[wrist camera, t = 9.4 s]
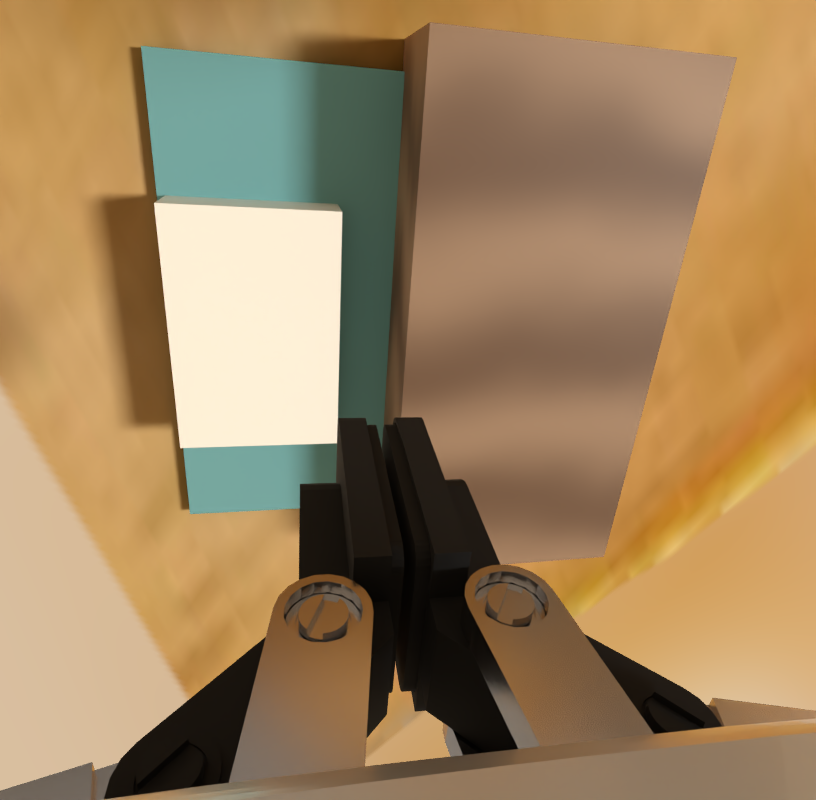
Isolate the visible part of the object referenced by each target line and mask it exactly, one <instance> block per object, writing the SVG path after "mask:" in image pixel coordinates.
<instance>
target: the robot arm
mask: <svg viewBox="0 0 816 800" xmlns="http://www.w3.org/2000/svg"><path fill="white" fill-rule="evenodd" d="M395 661H396V668H397V674H398V680H399V685H400V689H401V691H402V692H403V691H411V692H412V697H413V703H414V708H415V711H425V710H426V711H427V712H429V713H430V714H432V715H433V716H434V717H436V718H437V719H439V720H440V721H442V722H443V734H444V739H445V743H446V745H447V748H448V751H449V753H450V756H451V757H444V758H435V759H426V760H418V761H409V762H400V763H391V764H383V765H374V766H366V767H365V756H366V738H367V737H368V736H369V735H370V734H371V732H372V731H373V730H374V729H375V728H376V727H377V725H378V724H379V723H380V722H381V721H382V719H383V718H384V717H385V716H386V715H387V706H388V695H389V693H391V692H392V689H393V680H394V669H395ZM0 800H816V711H813V710H805V709H797V708H789V707H781V706H773V705H766V704H757V703H749V702H742V701H733V700H725V699H718V698H712V700H711V702H710V704H709V705H705V704H704V703H703V702H702V701H701V700H700V699H699V698H698V697H696V696H695V695H693V694H692V693H690V692H689V691H687V690H686V689H684V688H683V687H681V686H679V685H677V684H675V683H673V682H672V681H670V680H667V679H666V678H664V677H662V676H660V675H659V674H657V673H655V672H653V671H651V670H649V669H648V668H646V667H644V666H642V665H640V664H638V663H636V662H635V661H632V660H631V659H629V658H627V657H625V656H623V655H622V654H620V653H618V652H616V651H614V650H613V649H611V648H609V647H607V646H605V645H603V644H602V643H600V642H598V641H596V640H594V639H592V638H590V637H589V636H587V635H585V634H584V633H583V632H582V631H581V629H580V628H579V626H578V625H577V623H576V622H575V621H574V619H573V618H572V616H571V615H570V613H569V612H568V611H567V609H566V608H565V606H564V605H563V603H562V602H561V601H560V599H559V598H558V596H557V595H556V594H555V592H554V591H553V589H552V588H551V587H550V586H549V585H548V584H547V583H546V582H545V581H544V580H543V579H542V578H540V577H539V576H537V575H536V574H534V573H533V572H530V571H528V570H525V569H523V568H520V567H516V566H511V565H500V562H499V560H498V557H497V555H496V553H495V550H494V548H493V545H492V543H491V541H490V538H489V536H488V534H487V531H486V529H485V526H484V524H483V522H482V519H481V517H480V514H479V512H478V510H477V507H476V505H475V502H474V500H473V498H472V495H471V493H470V491H469V488H468V486H467V484H466V482H465V481H464V480H462V479H451V480H445V478H444V475H443V472H442V470H441V467H440V464H439V462H438V459H437V456H436V453H435V451H434V448H433V445H432V443H431V440H430V437H429V434H428V432H427V429H426V426H425V423H424V421H423V419H422V417H395V418H394V420H393V425H384V427H383V438H382V447H381V443H380V438H379V434H378V429H377V425H367V421H366V418H338V424H337V461H336V483H311V484H300V537H299V580H298V581H297V582H295V583H293V584H291V585H290V586H288V587H287V588H286V589H285V590H284V591H283V592H282V593H281V594H280V595H279V597H278V599H277V601H276V603H275V605H274V607H273V611H272V615H271V619H270V623H269V627H268V631H267V635H266V637H265V638H264V639H263V640H261V641H260V642H259V643H258V644H257V645H255V646H254V647H253V648H252V649H250V650H249V651H248V652H247V653H246V654H244V655H243V656H242V657H241V658H239V659H238V660H237V661H236V662H235V663H233V664H232V665H231V666H230V667H228V668H227V669H226V670H225V671H224V672H222V673H221V674H220V675H219V676H217V677H216V678H215V679H214V680H213V681H211V682H210V683H209V684H208V685H206V686H205V687H204V688H203V689H202V690H200V691H199V692H198V693H197V694H195V695H194V696H193V697H192V698H191V699H189V700H188V701H187V702H186V703H184V704H183V705H182V706H181V707H180V708H178V709H177V710H176V711H175V712H173V713H172V714H171V715H170V716H169V717H167V718H166V719H165V720H164V721H163V722H161V723H160V724H159V725H158V726H156V727H155V728H154V729H153V730H152V731H150V732H149V733H148V734H147V735H145V736H144V737H143V738H142V739H141V740H140V741H138V742H137V743H136V744H135V745H134V746H133V747H132V748H131V749H130V750H129V751H128V752H127V753H126V754H125V755H124V756H123V757H122V758H121V760H120V761H119V763H116V764H113V765H110V766H107V767H104V768H101V769H97V770H94V766H93V763H92V762H91V763H88V764H85V765H82V766H78V767H75V768H72V769H69V770H66V771H62V772H59V773H56V774H53V775H49V776H47V777H43V778H40V779H37V780H34V781H30V782H27V783H24V784H21V785H17V786H14V787H11V788H8V789H5V790H1V791H0Z"/></svg>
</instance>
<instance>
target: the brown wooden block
mask: <svg viewBox="0 0 816 800" xmlns="http://www.w3.org/2000/svg"><path fill="white" fill-rule="evenodd" d="M736 59H737V58H736V57H728V56H719V55H710V54H701V53H693V52H684V51H675V50H667V49H658V48H649V47H640V46H632V45H623V44H614V43H606V42H597V41H588V40H579V39H571V38H562V37H553V36H544V35H536V34H527V33H518V32H510V31H501V30H492V29H483V28H475V27H466V26H457V25H448V24H440V23H431V22H430V23H428V24H427V25H425V26H424V27H422V28H421V29H419V30H418V31H416V32H415V33H413V34H412V35H410V36H409V37H407V38H406V39H405V41H404V58H403V71H405V75H404V92H403V109H402V126H401V142H400V159H399V176H398V193H397V210H396V226H395V243H394V260H393V277H392V294H391V310H390V327H389V344H388V361H387V378H386V394H385V411H384V425H393V420H394V418H395V417H422V419H423V421H424V423H425V426H426V429H427V432H428V434H429V437H430V440H431V443H432V445H433V448H434V451H435V453H436V456H437V459H438V462H439V464H440V467H441V470H442V472H443V475H444V478H445V480H451V479H462V480H464V481H465V482H466V484H467V486H468V488H469V491H470V493H471V495H472V498H473V500H474V502H475V505H476V507H477V510H478V512H479V514H480V517H481V519H482V522H483V524H484V526H485V529H486V531H487V534H488V536H489V538H490V541H491V543H492V545H493V548H494V550H495V553H496V555H497V557H498V560H499V562H500V565H501V564H515V563H528V562H541V561H554V560H568V559H581V558H594V557H604V554H605V550H606V546H607V543H608V539H609V535H610V531H611V528H612V524H613V520H614V516H615V513H616V509H617V505H618V501H619V498H620V494H621V490H622V486H623V483H624V479H625V475H626V471H627V468H628V464H629V460H630V456H631V453H632V449H633V445H634V441H635V438H636V434H637V430H638V426H639V423H640V419H641V415H642V411H643V408H644V404H645V400H646V396H647V393H648V389H649V385H650V381H651V378H652V374H653V370H654V366H655V363H656V359H657V355H658V351H659V348H660V344H661V340H662V336H663V333H664V329H665V325H666V321H667V318H668V314H669V310H670V306H671V303H672V299H673V295H674V291H675V288H676V284H677V280H678V276H679V273H680V269H681V265H682V261H683V258H684V254H685V250H686V246H687V243H688V239H689V235H690V231H691V228H692V224H693V220H694V216H695V213H696V209H697V205H698V201H699V198H700V194H701V190H702V186H703V183H704V179H705V175H706V171H707V168H708V164H709V160H710V156H711V153H712V149H713V145H714V141H715V138H716V134H717V130H718V126H719V123H720V119H721V115H722V111H723V108H724V104H725V100H726V96H727V93H728V89H729V85H730V81H731V78H732V74H733V70H734V66H735V63H736Z"/></svg>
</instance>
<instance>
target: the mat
mask: <svg viewBox="0 0 816 800" xmlns="http://www.w3.org/2000/svg"><path fill="white" fill-rule="evenodd" d="M141 51H142V61H143V70H144V80H145V89H146V99H147V108H148V118H149V127H150V137H151V146H152V156H153V165H154V175H155V184H156V194H157V201H158V200H159V199H161V198H162V197H164V196H165V195H166V196H186V197H206V198H226V199H246V200H266V201H286V202H306V203H326V204H338V205H339V207H340V209H341V210H342V252H341V297H340V342H339V387H338V418H366V421H367V425H377V429H378V434H379V438H380V443H381V447H382V438H383V427H384V411H385V394H386V378H387V361H388V344H389V327H390V310H391V294H392V277H393V260H394V243H395V226H396V210H397V193H398V176H399V159H400V142H401V126H402V109H403V92H404V75H405V71H395V70H384V69H374V68H364V67H353V66H343V65H333V64H322V63H312V62H302V61H291V60H281V59H271V58H260V57H250V56H240V55H229V54H219V53H209V52H198V51H188V50H178V49H167V48H157V47H147V46H141ZM183 451H184V460H185V470H186V480H187V489H188V499H189V508H190V514H201V513H220V512H239V511H259V510H278V509H297V508H300V484H311V483H336V461H337V443H330V444H298V445H265V446H232V447H200V448H183Z"/></svg>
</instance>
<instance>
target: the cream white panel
mask: <svg viewBox="0 0 816 800" xmlns="http://www.w3.org/2000/svg"><path fill="white" fill-rule="evenodd" d="M154 208H155V217H156V226H157V236H158V245H159V254H160V264H161V273H162V282H163V292H164V301H165V310H166V319H167V329H168V338H169V347H170V357H171V366H172V375H173V385H174V394H175V403H176V412H177V422H178V431H179V440H180V448H200V447H232V446H265V445H298V444H330V443H337V424H338V387H339V342H340V297H341V252H342V210H341V209H340V207H339V205H338V204H326V203H306V202H286V201H266V200H246V199H226V198H206V197H186V196H166V195H165V196H164V197H162V198H161V199H159V200H158V201H156V202H155V203H154Z"/></svg>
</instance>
